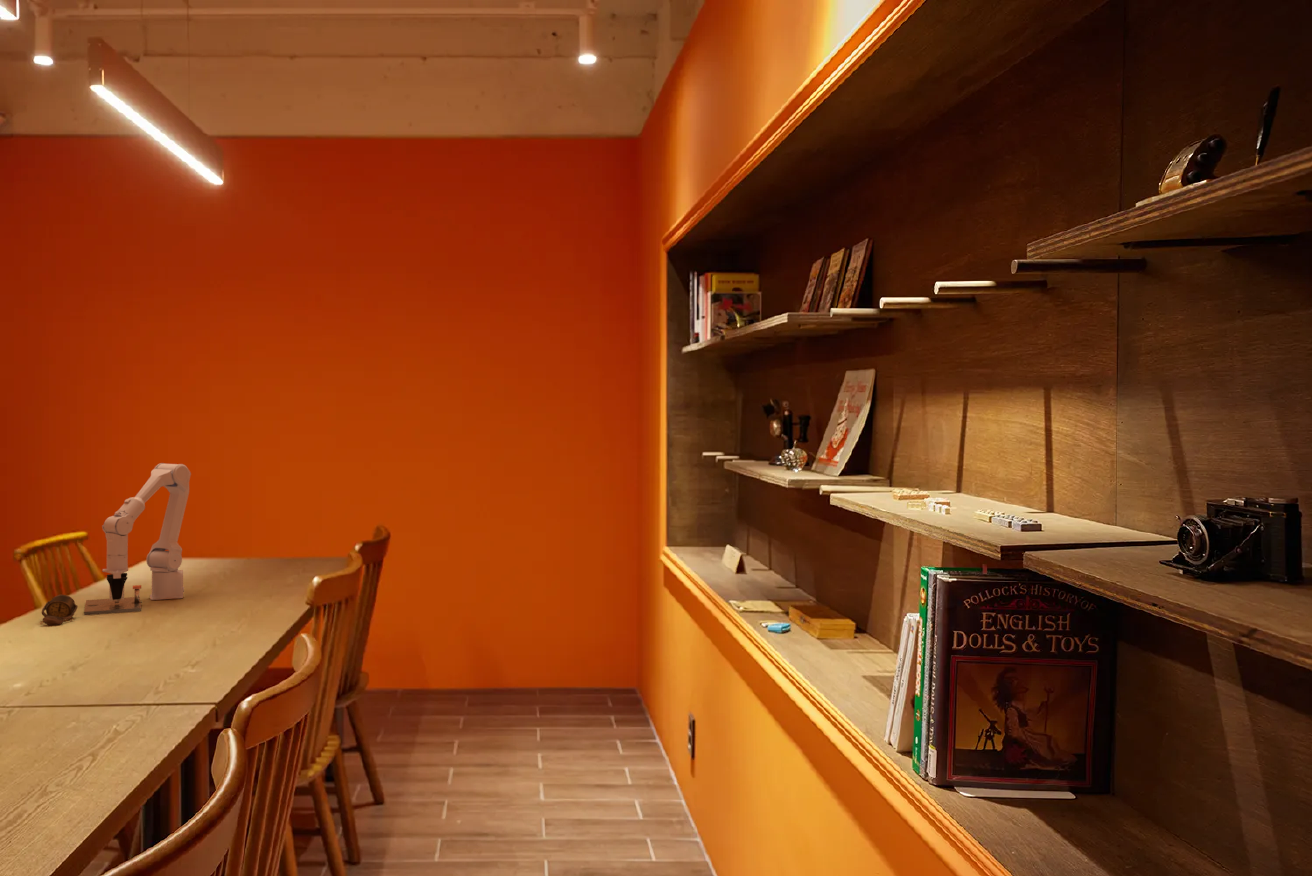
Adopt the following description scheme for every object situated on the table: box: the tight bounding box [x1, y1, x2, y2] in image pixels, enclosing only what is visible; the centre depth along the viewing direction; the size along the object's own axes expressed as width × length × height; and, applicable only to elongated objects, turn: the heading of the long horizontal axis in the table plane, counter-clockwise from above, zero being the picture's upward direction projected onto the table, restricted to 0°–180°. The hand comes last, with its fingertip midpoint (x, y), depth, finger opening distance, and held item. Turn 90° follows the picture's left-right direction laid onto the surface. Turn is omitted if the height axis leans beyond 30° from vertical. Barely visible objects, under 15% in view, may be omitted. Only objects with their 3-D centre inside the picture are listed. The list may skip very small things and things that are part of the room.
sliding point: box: [108, 586, 125, 603], centre depth 301 cm, size 4×4×6 cm
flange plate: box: [83, 584, 143, 616], centre depth 301 cm, size 15×20×6 cm
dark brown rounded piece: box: [41, 594, 79, 626], centre depth 280 cm, size 7×13×10 cm
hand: (116, 598), depth 301 cm, fingers closed on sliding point, 4 cm apart
